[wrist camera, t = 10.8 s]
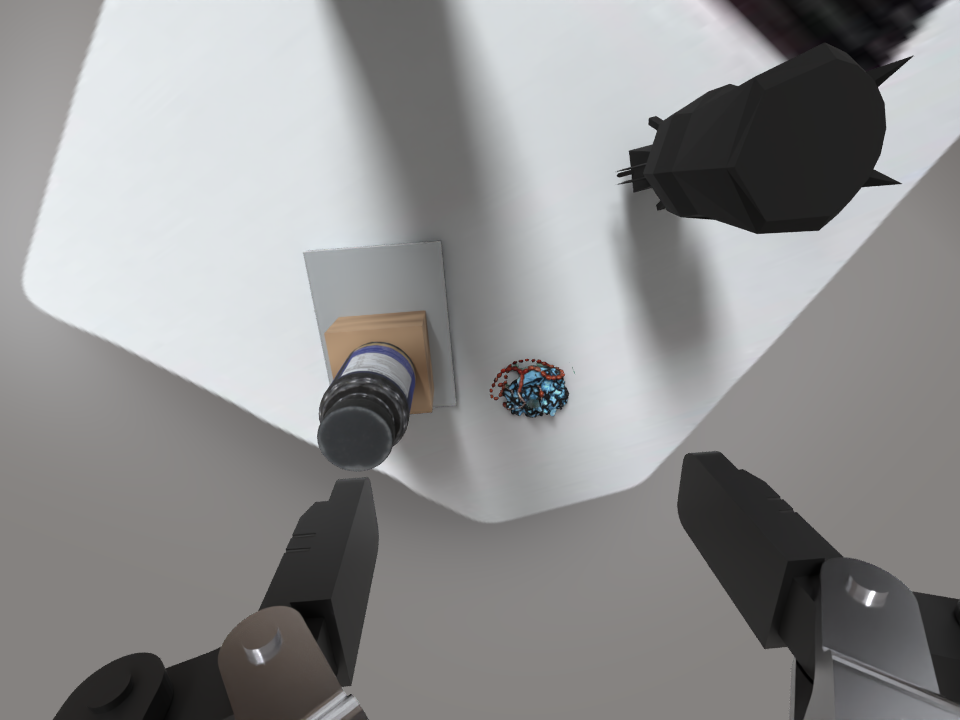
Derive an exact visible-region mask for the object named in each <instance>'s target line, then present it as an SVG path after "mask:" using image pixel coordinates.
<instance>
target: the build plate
mask: <svg viewBox="0 0 960 720" xmlns="http://www.w3.org/2000/svg"><path fill="white" fill-rule="evenodd" d="M303 254H304V259H305V264H306V269H307V274H308V279H309V284H310V289H311V294H312V299H313V304H314V309H315V314H316V319H317V324H318V329H319V333H320V338H321V343H322V348H323V353H324V358H325V363H326V368H327V373H328V378H329V383H330V384H331V383H332V381H333V376H332V371H331V366H330V361H329V356H328V351H327V346H326V341H325V336H324V333H325V332H326V331H327V330H328V328H329V327H330V326H331V325H332V324H333V323H334V322H335V321H336V319H337V318H338V317H347V316H360V315H373V314H385V313H398V312H411V311H423V310H425V311H426V320H427V329H428V338H429V347H430V355H431V364H432V373H433V382H434V397H433V407H443V406H455V405H456V394H455V383H454V373H453V362H452V351H451V341H450V330H449V320H448V309H447V298H446V288H445V277H444V267H443V256H442V246H441V241H431V242H418V243H404V244H391V245H377V246H364V247H351V248H337V249H324V250H310V251H305V252H303Z"/></svg>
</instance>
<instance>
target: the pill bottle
mask: <svg viewBox="0 0 960 720" xmlns="http://www.w3.org/2000/svg"><path fill="white" fill-rule="evenodd" d="M415 381H416V375H415V367H414V365H413V362H412V360H411V359H410V357H409V356H408V355H407V354H406V353H405V352H404V351H403V350H402V349H400V348H399V347H397V346H395V345H393V344H390V343H386V342H369V343H366V344H363V345H361V346H360V347H358V348H357V349H355V350H354V351H353V352H351V353H350V355H349V356H348V357H347V359H346V360H345V362H344V364H343V365H342V367H341V368H340V370H339V371H338V373H337V375H336V376H335V378H334V380H333V381H332V383H331V384H330V386H329V388H328V389H327V391H326V392H325V393H324V395H323V398H322V400H321V403H320V407H319V420H320V426H319V429H318V434H317V439H318V445H319V448H320V450H321V451H322V453H323V455H324V456H325V457H326V458H327V459H328V461H330V462H331V463H332V464H334V465H336V466H337V467H339V468H342V469H345V470H349V471H365V470H369V469H372V468H374V467H376V466H378V465H380V464H381V463H382V462H383V461H384V460H385V459H386V458H387V457H388V455H389V454H390V452H391V449H392V447H393V446H394V445H395V444H397V443H398V442H399V440H400V439H401V438H402V436H403V435H404V433H405V431H406V429H407V426H408V421H409V415H410V410H411V404H412V399H413V394H414V388H415Z"/></svg>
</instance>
